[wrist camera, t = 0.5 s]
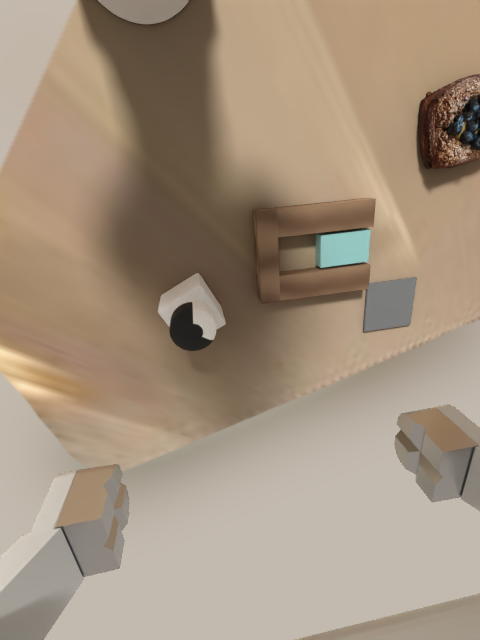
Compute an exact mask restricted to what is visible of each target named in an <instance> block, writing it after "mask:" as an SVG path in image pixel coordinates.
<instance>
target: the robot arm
mask: <svg viewBox="0 0 480 640" xmlns="http://www.w3.org/2000/svg"><path fill="white" fill-rule="evenodd" d="M98 1H99V2H100V3H101V4H102V5H103V6H104V7H105V8H107V9H108V10H109V11H111V12H112V13H114V14H115V15H117V16H119V17H120V18H123V19H125V20H127V21H130V22H134V23H139V24H155V23H160V22H163V21H166V20H168V19H170V18H171V17H173V16H175V15H176V14H177V13H179V12H180V11H181V10H182V9H183V8H184V7H185V5H186V4H187V3H188V1H189V0H98ZM397 425H398V426H399V427H400V429H401V430H400V431H399V432H398V434H397V435H396V436H395V449H396V453H397V456H398V458H399V460H400V462H401V463H402V464H403V466H404V467H405V468H406V469H407V470H409V471H411V472H413V473H414V474H416V482H417V484H418V485H419V486H420V488H421V489H422V490H423V492H424V493H425V494H426V495H427V497H428V498H429V499H430V501H431V502H436V501H441V500H448V499H453V498H459V497H461V499H462V500H464V501H465V502H467V503H468V504H470V505H471V506H473V507H475V508H476V509H478V510H479V511H480V428H479V427H478V426H477V425H476V424H475V423H473V422H472V421H471V420H470V419H468V418H467V417H466V416H465V415H464V414H462V413H461V412H460V411H459V410H457V409H456V408H455V407H453V406H451V405H444V406H439V407H434V408H429V409H423V410H418V411H413V412H407V413H402V414H400V416H399V417H398V422H397ZM121 478H122V471H121V469H120V466H119V465H117V464H114V465H108V466H101V467H95V468H88V469H81V470H78V471H72V472H64V473H59V474H58V475H57V476H56V477H55V478H54V480H53V482H52V485H51V487H50V489H49V491H48V494H47V496H46V498H45V500H44V502H43V505H42V507H41V509H40V512H39V514H38V516H37V518H36V520H35V523H34V525H33V527H32V530H31V532H30V534H25V535H23V536H22V537H20V538H19V539H18V540H17V541H16V542H15V543H14V544H13V545H12V546H11V547H10V548H9V549H8V550H7V551H6V552H5V553H4V554H3V555H2V556H1V557H0V640H44V638H45V637H46V635H47V634H48V632H49V631H50V629H51V628H52V626H53V625H54V623H55V622H56V620H57V619H58V617H59V616H60V614H61V613H62V611H63V610H64V608H65V607H66V605H67V604H68V602H69V601H70V599H71V598H72V596H73V595H74V593H75V592H76V590H77V589H78V587H79V586H80V584H81V583H82V581H83V580H84V578H83V577H86V576H90V575H94V574H98V573H102V572H107V571H111V570H115V569H119V568H120V563H121V557H122V551H123V546H124V538H123V535H122V532H121V531H122V530H123V529H124V527H125V526H126V525H127V523H128V516H129V497H128V491H127V488H126V486H125V485H123V484H122V483H121ZM295 640H480V594H476V595H472V596H468V597H464V598H460V599H456V600H452V601H448V602H444V603H440V604H436V605H432V606H428V607H424V608H420V609H416V610H412V611H408V612H404V613H400V614H396V615H392V616H388V617H384V618H380V619H376V620H372V621H368V622H364V623H360V624H356V625H352V626H348V627H344V628H340V629H336V630H332V631H328V632H324V633H320V634H316V635H312V636H308V637H304V638H300V639H295Z"/></svg>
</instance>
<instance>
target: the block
mask: <svg viewBox="0 0 480 640" xmlns="http://www.w3.org/2000/svg"><path fill="white" fill-rule="evenodd" d="M369 244H370V229H366V228H358V229H350V230H342V231H333V232H325V233H317V234H316V265H317V266H318V267H320V268H324V267H331V266H338V265H346V264H353V263H361V262H368V258H369Z"/></svg>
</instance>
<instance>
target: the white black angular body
mask: <svg viewBox="0 0 480 640" xmlns="http://www.w3.org/2000/svg"><path fill="white" fill-rule="evenodd" d="M158 313H159V314H160V316H161V317H162V318H163V320H164V321H165V322H166V324H167V325H168V326H169V327H170V336H171V338H172V340H173V342H174V343H175V344H176V345H177V346H179V347H180V348H182V349H185V350H189V351H196V350H201V349H203V348H205V347H207V346H208V345H209V344H210V343H211V342H212V341H213V340H214V338H215V335H216V330H217V329H219V328H220V327H222V326H224V325H225V323H226V322H225V318H224V315H223V311H222V308H221V305H220V304H219V302H218V301H217V299H216V298H215V296H214V295H213V293H212V292H211V290H210V289H209V287H208V286H207V284H206V283H205V281H204V280H203V278H202V277H201V275H200V274H199V273H196V274H194V275H193V276H191V277H189V278H188V279H186V280H184V281H183V282H181V283H180V284H178V285H176V286H175V287H173V288H172V289H170V290H168V291H167V292H165V293H163V294H162V295H161V297H160V302H159V307H158Z"/></svg>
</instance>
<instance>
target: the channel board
mask: <svg viewBox="0 0 480 640" xmlns="http://www.w3.org/2000/svg"><path fill="white" fill-rule="evenodd" d="M375 201H376V199H372V198H363V199H353V200H343V201H334V202H324V203H314V204H305V205H295V206H285V207H276V208H266V209H257V210H253V217H254V232H255V248H256V263H257V279H258V294H259V299H260V301H261V303H268V302H275V301H283V300H290V299H297V298H305V297H312V296H320V295H327V294H334V293H342V292H349V291H356V290H364V289H369V277H370V265H369V264H367V263H365V262H361V263H353V264H346V265H338V266H331V267H324V268H320V267H316V268H308V269H300V270H292V271H284V272H279V251H278V237H287V236H296V235H304V234H313V233H322V232H331V231H340V230H348V229H357V228H366V227H373V226H374V214H375Z"/></svg>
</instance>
